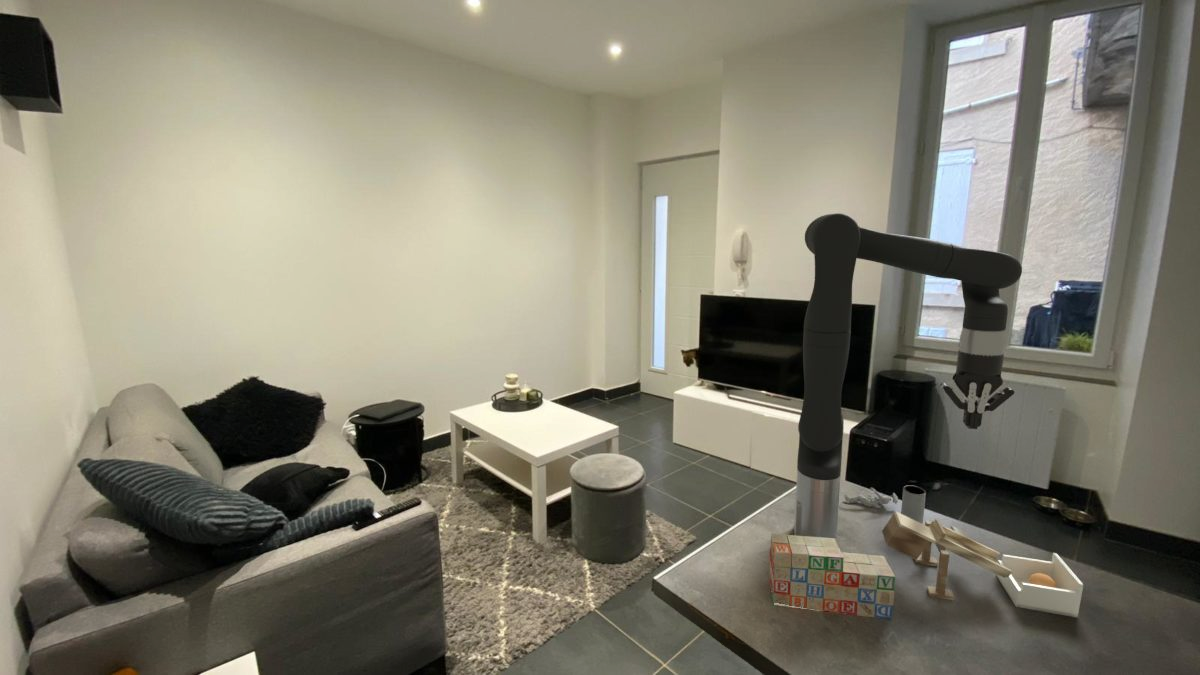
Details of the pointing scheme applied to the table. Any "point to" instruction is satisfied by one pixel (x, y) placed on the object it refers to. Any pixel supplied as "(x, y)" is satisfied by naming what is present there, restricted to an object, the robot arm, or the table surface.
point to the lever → (939, 542)
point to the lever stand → (942, 571)
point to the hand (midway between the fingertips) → (971, 427)
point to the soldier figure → (871, 499)
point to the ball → (1042, 580)
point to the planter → (913, 502)
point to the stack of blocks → (829, 577)
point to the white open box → (1038, 596)
